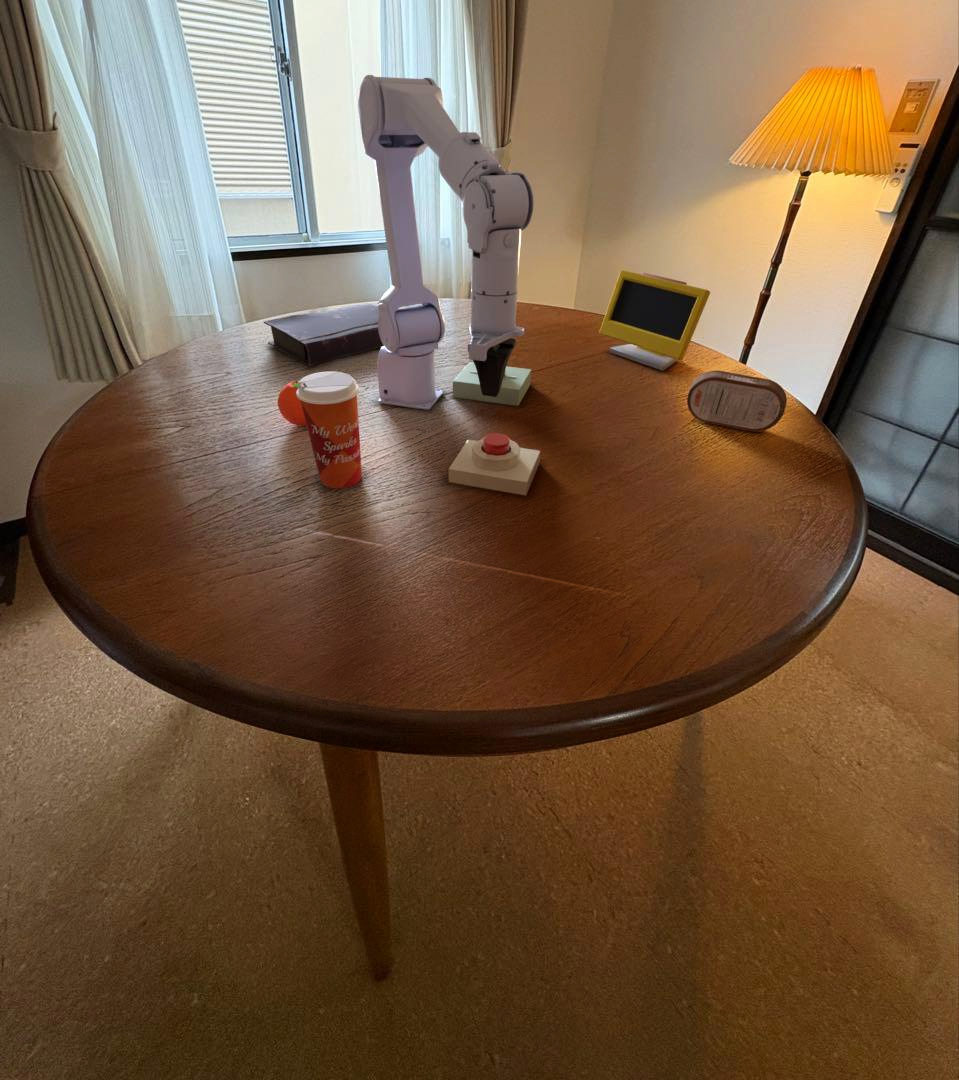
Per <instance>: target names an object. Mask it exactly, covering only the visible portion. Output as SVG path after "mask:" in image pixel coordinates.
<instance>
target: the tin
mask: <svg viewBox="0 0 959 1080" xmlns="http://www.w3.org/2000/svg"><path fill="white" fill-rule="evenodd" d="M687 391H688V392H687V394H686V406H687V408H688V411H689V413H690V414H691V415H692V416H693V417H694V419H696V420H698V421H700V422H703V423H706V424H707V423H708V424H712V425H717V426H722V427H727V428H731V429H736V430H742V431H745V432H752V433H757V432H759V433H760V432H764V431H766V430H769V429H771V428H773V427H774V426H775V425H777V424H778V423H779V422H780V421H781V419H782V418H783V416H784V414H785V411H786V407H787V400H788V398H787V394H786V392H785V390H784V388H783V387H782V385H780V384H779V383H778V382H777V381H774V380H771V379H769V378H762V377H758V376H751V375H747V374H742V373H735V372H731V371H725V370H717V369H716V370H715V369H714V370H709V371H705V372H703V373H701V374H699V375H698V376H696V377H695V378H694V380H693V381H692V382H691V383H690V385H689V388H688V390H687Z"/></svg>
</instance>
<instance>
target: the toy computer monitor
mask: <svg viewBox="0 0 959 1080" xmlns="http://www.w3.org/2000/svg"><path fill="white" fill-rule="evenodd" d="M710 295H711V291H710V290H708V289H705V288H702V287H698V286H694V285H693V286H692V285H689V284H688V283H687V282H685V281H682V280H677V279H674V278H669V277H665V276H661V275H657V274H652V273H648V272H641V273H639V272H635V271H629V270H625V269H620V272H619V274H618V277H617V280H616V283H615V286H614V288H613V291H612V295H611V297H610V299H609V303H608V306H607V309H606V312H605V315H604V317H603V321H602V323H601V326H600V329H599V332H598V334H599V335H603V336H605V337H609V338H612V339H614V340H618V341H620V342H622V343H623V342H624V343H626V344H622V345H617V346H611V347H610V348H609V353H610V354H612V355H616V356H619V357H620V358H621V357H622V358H624V359H627V360H630V361H633V362H635V363H638V364H641V365H644V366H647V367H650V368H653V369H655V370H659V371H661V372H664V371H665V370H666V369H668V368H669V367H671V366H672V365H673V364H675V363H676V362H677V361H681V362H682V361H683V359H685V358H684V357H685V355H686V352H687V350H688V347H689V346H690V344H691V343H690V342H691V341H692V339H693V336H694V333H695V331H696V329H697V326H698V325H699V322H700V319H701V316H702V314H703V312H704V309H705V306H706V304H707V302H708V299H709V297H710Z"/></svg>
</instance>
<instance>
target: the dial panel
mask: <svg viewBox="0 0 959 1080" xmlns="http://www.w3.org/2000/svg"><path fill="white" fill-rule="evenodd" d="M531 379H532V369H531V368H523V367H522V368H521V367H515V366H508V365H506V371H505V377H503V381H502V385H501V389H500V391H499V394H498V395H497V397H492V396H485V395H482V391H481V387H480V382H479V377H478V373H477V370H476V367H475V364H474V362H473V361H469V362H468V363H467V364H466V365H465V366H464V367H463V369H461V371H460V372H458V374H457V376H456V377H455V378H454V379H453V380H452V397H453V398H457V399H465V400H472V401H479V402H485V403H493V404H500V405H507V406H514V407H518V406H519V405H520V404H521V402H522V401H523V398H524V396H525V395H526V393H527V391H528V390H529V387H530V386H531Z"/></svg>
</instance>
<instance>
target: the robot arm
mask: <svg viewBox="0 0 959 1080" xmlns="http://www.w3.org/2000/svg"><path fill="white" fill-rule="evenodd" d="M357 113H358V121H359V126H360V127H359V128H360V133H361V141H362V144H363V149H364V154H365V155H366V156H368V157H369V158H371V159H372V160H374V165H375V172H376V179H377V186H378V193H379V200H380V208H381V216H382V222H383V231H384V237H385V243H386V251H387V258H388V267H389V272H390V281H391V286H390V288H389V289H388V290H386V292H385V293H384V294H383V296H382V297H381V298H379V300H378V301H377V306H378V331H379V336H380V339H381V341H382V343H383V345H384V346H382V347H380V350H379V351H378V355H377V360H376V370H377V372H376V373H377V381H378V391H379V392H378V393H379V399H378V400H377V402H378V403H379V404H383V405H390V406H397V407H403V408H412V409H418V410H423V411H429V410H430V409H431V408H432V407H433V405H435V404H436V402H437V401H438V400H439V399H440V398H441V397H442V396H443V395H444V390H443V389H437V388H436V358H435V357H436V356H435V355H436V354H435V353H436V352H435V350H439V343H441V342H442V341H443V339H444V336H445V333H446V321H445V317H444V315H443V312H442V308H441V304H440V303H441V302H440V297H439V296H438V295H437V293H435V292H434V291H433V290H431V289H430V288H428V287H427V286H426V285H425V284H424V275H423V274H424V273H423V265H422V258H421V249H420V239H419V230H418V223H417V214H416V213H417V212H416V205H415V197H414V188H413V187H414V186H413V178H412V169H411V167H412V165H413V162H414V160H415V158H417V157H418V156H420V155H422V154H424V152H425V151H426V149H427V148H429V149H430V150H431V151H432V152H433V153H434V154H435V155H436V156H437V157H438V170H439V173H440V176H441V177H442V179H443V180H444V181H445V182H446V184H447V185H448V186H449V188H450V189H451V190H452V191H453V193H454V194H455V195H456V197H457V198H458V200H459V201H460V202H461V210H462V215H463V217H462V218H463V221H464V224H465V227H466V235H467V238H466V239H467V240H466V241H467V245H468V249H469V250H471V285H470V287H471V288H470V290H471V291H470V307H471V308H470V324H469V328H468V329H469V330H468V332H469V339H470V342H469V343H467V352H468V359H469V360H472V362H474V364H475V367H476V370H477V373H478V377H479V382H480V387H481V391H482V395H485V396H492V397H497V395H498V394H499V391H500V389H501V385H502V381H503V377H504V373H505V369H506V366H508V363H509V360H510V358H511V356H512V355H511V354H512V353H513V351H514V349H515V347H516V345H517V340H516V339H515V338H521V337H523V336H524V334H525V327H522V326H517V324H516V320H517V307H518V306H517V305H518V290H519V273H520V259H521V258H520V256H521V242H522V241H521V240H522V231H524V230H525V229H526V228H527V227H528V226H529V224H530V223H531V221H532V218H533V214H534V207H535V203H534V202H535V201H534V192H533V188H532V186H531V183H530V181H529V180H528V178H527V177H526V175H525V173H523V172H520V171H513V172H511V171H509V170H508V171H507V170H505V169H504V168H503V166H501V163H500V162H499V160H498V159H496V158H494V156H493V155H492V154H491V152H490V151H488V149H487V148H486V147H485V146H484V144H483V142H481V141H482V138H481V137H480V135H479V134H478V133H477V132H476V131H471V132H470V131H469V132H468V131H463V132H460V130H459V129H458V128H457V126H456V125H455V123H454V122H453V120H452V119H451V117H450V116H449V114H448V112H447V110H445V108H444V99H443V92H442V89H441V87H439V85H438V84H437V83H436V82H435V80H434V79H433V78H431V77H423V78H410V77H409V78H408V77H392V76H391V77H390V76H387V77H386V76H374V75H373V74H366V75H365V76H364V77H363V79H362V82H361V83H360V86H359V91H358V96H357ZM415 305H416V306H415ZM407 306H410V307H407Z"/></svg>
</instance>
